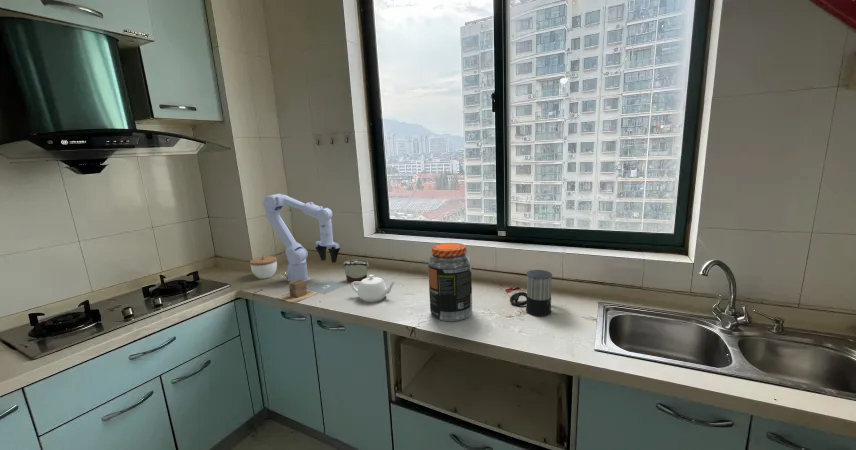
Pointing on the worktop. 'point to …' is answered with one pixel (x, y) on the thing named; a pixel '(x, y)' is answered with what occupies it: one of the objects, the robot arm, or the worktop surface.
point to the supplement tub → (450, 282)
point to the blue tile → (326, 286)
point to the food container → (355, 270)
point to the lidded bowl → (264, 266)
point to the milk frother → (536, 293)
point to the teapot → (372, 289)
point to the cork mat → (295, 300)
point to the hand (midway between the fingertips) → (328, 261)
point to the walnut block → (297, 288)
